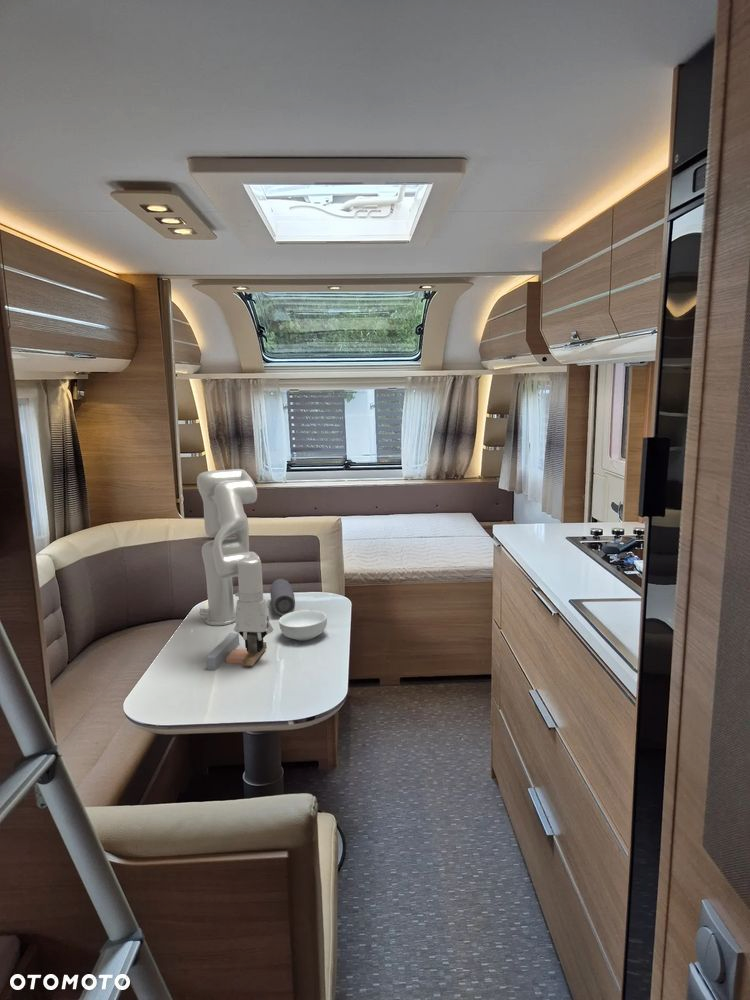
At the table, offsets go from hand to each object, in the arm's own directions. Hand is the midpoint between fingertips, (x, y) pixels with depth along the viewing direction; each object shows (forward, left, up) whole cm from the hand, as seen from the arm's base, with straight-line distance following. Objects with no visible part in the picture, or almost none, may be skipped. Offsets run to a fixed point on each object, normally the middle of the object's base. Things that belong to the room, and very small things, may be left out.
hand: (254, 649), depth 196 cm
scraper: (0, 0, -2) cm, 2 cm away
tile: (-5, 0, -3) cm, 6 cm away
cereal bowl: (+11, +20, -3) cm, 23 cm away
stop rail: (-11, +1, -3) cm, 12 cm away
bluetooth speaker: (-5, +47, -3) cm, 47 cm away
